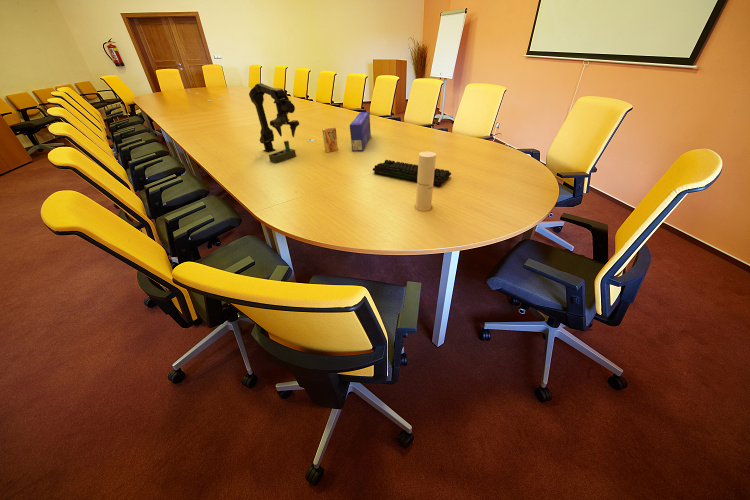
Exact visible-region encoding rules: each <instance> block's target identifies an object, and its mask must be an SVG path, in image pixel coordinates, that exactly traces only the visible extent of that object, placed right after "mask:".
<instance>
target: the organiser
mask: <svg viewBox="0 0 750 500" xmlns="http://www.w3.org/2000/svg"><path fill="white" fill-rule="evenodd" d="M296 153H297V152H296V149H293V148H290V151H288V152H287V151H286V149H285V148H284V149H283V150H280V151H276V152H273V153H270V154H268V158H269V162H270V163H273V164H279V163H281V162H285V161H287V160H290V159H293V158H295V157H297V154H296Z"/></svg>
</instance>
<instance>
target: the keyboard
mask: <svg viewBox="0 0 750 500" xmlns="http://www.w3.org/2000/svg"><path fill="white" fill-rule="evenodd" d="M372 171H373V173H374V175H376V176H377V175H378V176H381V177H387V178H391V179H397V180H400V181H407V182H411V183H415V184H417V178H418V164H413V163H407V162H403V161H395V160H391V159H384V162H379V163H377V164H375V165H374V167H373V168H372ZM451 175H452V172H450V170H448V169H442V168H436V167H435V171H434V182H433V187H436V188H440V187H442V186H443V185H444V184H445V183H446V182H447V181H448V180H449V179H450V177H451Z"/></svg>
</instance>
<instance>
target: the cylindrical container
mask: <svg viewBox="0 0 750 500" xmlns="http://www.w3.org/2000/svg"><path fill="white" fill-rule="evenodd" d="M436 159H437V153H436V152H434V151H421V152H419V153H418V161H417V165H418V178H417V183H416V198H415V209H416V210H418V211H423V212H425V211H429V210H432V201H433V191H434V186H433V182H434V171H435V169H436V161H437V160H436Z"/></svg>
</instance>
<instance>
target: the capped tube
mask: <svg viewBox="0 0 750 500" xmlns="http://www.w3.org/2000/svg"><path fill="white" fill-rule="evenodd" d="M283 144H284V150H285V149H286V151H287V152H288V151H290V149H291V147H290V146H291V145H290V141H289V140H284V141H283Z"/></svg>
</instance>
